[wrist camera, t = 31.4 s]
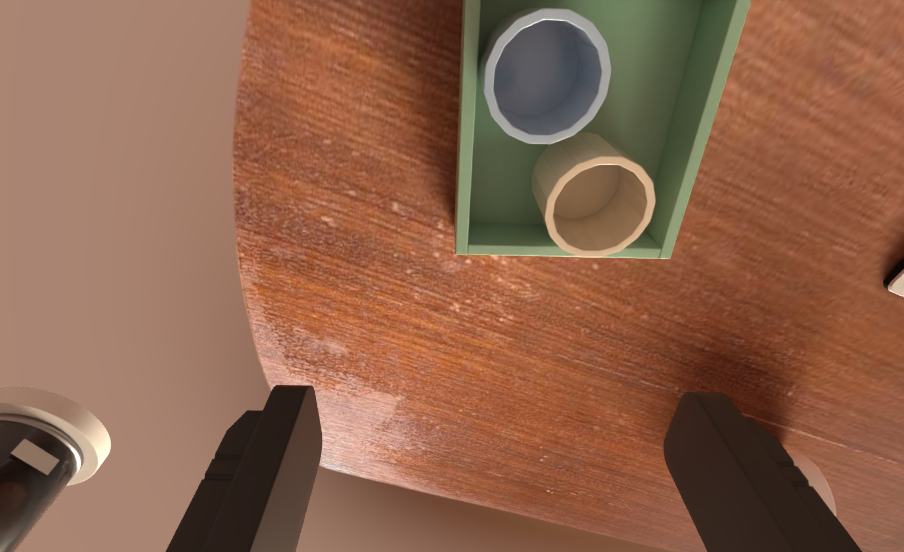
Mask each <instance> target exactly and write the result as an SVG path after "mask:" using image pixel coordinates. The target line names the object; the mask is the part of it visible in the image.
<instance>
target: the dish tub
mask: <svg viewBox="0 0 904 552" xmlns="http://www.w3.org/2000/svg"><path fill="white" fill-rule="evenodd" d="M750 3H751V0H463V4H462V31H461V58H460V86H459V113H458V140H457V168H456V195H455V223H454V233H455V254H464V255H466V254H469V255H516V256H563V257H578V256H576V255H573V254H571V253H569V252H566V251H564V250H562V249H561V248H560V247H559V246H558V245H557V244H556V243H555V242H554V241H553V239H552V238H551V237H550V236H549V234H548V231H547V229H546V227H545V225H544V222H543V220H542V218H541V215H540V213H539V211H538V209H537V206H536V204H535V200H534V198H533V195H532V191H531V175H532V171H533V168H534V165H535V163H536V161H537V159H538V158H539V156H540V155H541V153H542V152H543V151H544V150H545V149H546V148H547V147H548V146H549V145H550V144H528V143H525V142H523V141H521V140H519V139H516V138H514V137H512V136H510V135H508V134H507V133H505V131H504V130H503V129H502V128H501V127H500V126H499V125H498V123H497V122H496V121H495V120H494V119H493V118H492V116H491V114H490V112H489V109H488V106H487V104H486V101H485V99H484V96H483V93H482V90H481V87H480V84H479V80H478V60H479V55H480V51H481V48H482V45H483V43H484V41H485V39H486V37H487V35H488V34H489V32H490V31H491V29H492V28H493V27H494V26H495V25H496V24H497V23H498V22H499V21H500V20H501V19H502V18H504V17H505V16H506V15H508V14H510V13H512V12H514V11H516V10H519V9H522V8H525V7H528V6H530V7H553V8H566V9H571V10H573V11H574V12H576V13H578V14H580V15H582V16H583V17H585V18H587V19H589V20H591V21H592V22H593V23H594V25H595V26H596V28H597V29H598V31H599V32H600V34H601V35H602V36H603V38H604V39H605V41H606V43H607V47H608V52H609V58H610V63H611V75H610V80H609V85H608V91H607V95H606V98H605V99H604V101H603V103H602V104H601V106H600V108H599V110H598V111H597V113H596V115H595V116H594V118H593V119H592V120H591V121H590V122H589V123H588V124H586V125H585V126H584V127H583V128H582V129H581V130H579V131H578V132H592V133H596V134H599V135H602V136H604V137H605V138H607V139H609V140H610V141H612V142H614V143H615V144H616V145H617V146H618V147H620V148H621V149H622V150H623V151H624V152H626V153H627V154H628V155H629V156H630V157H631V158H633V159H634V160H635V161H636V162H637V163H638V164H640V165H641V166H642V167H643V169H644V170H645V171H646V173H647V174H648V176H649V177H650V178H651V180H652V182H653V186H654V192H655V199H656V202H655V206H654V209H653V213H652V217H651V220H650V222H649V224H648V225H647V226H646V228H645V229H644V230H643V232H642V233H641V235H640V236H639V237H638V238H637V239H636V240H635V241H633V242H632V243H630V244H629V245H628V246H626V247H625V248H623V249H622V250H621V251H618V252H615V253H612V254H609V255H606V256H603V257H610V258H660V259H670V257H671V254H672V251H673V248H674V244H675V241H676V238H677V235H678V232H679V228H680V225H681V222H682V219H683V216H684V213H685V209H686V206H687V203H688V200H689V197H690V194H691V190H692V187H693V184H694V181H695V178H696V174H697V171H698V168H699V165H700V162H701V159H702V155H703V152H704V149H705V146H706V143H707V139H708V136H709V133H710V130H711V127H712V124H713V120H714V117H715V114H716V111H717V108H718V104H719V101H720V98H721V95H722V92H723V89H724V85H725V82H726V79H727V76H728V73H729V69H730V66H731V63H732V60H733V57H734V54H735V50H736V47H737V44H738V41H739V38H740V35H741V31H742V28H743V25H744V22H745V19H746V15H747V12H748V9H749V6H750Z"/></svg>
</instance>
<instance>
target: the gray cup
mask: <svg viewBox="0 0 904 552" xmlns="http://www.w3.org/2000/svg"><path fill="white" fill-rule="evenodd" d="M610 75H611V63H610V58H609V52H608V47H607V43H606V41H605V39H604V38H603V36H602V35H601V34H600V32H599V31H598V29H597V28H596V26H595V25H594V23H593V22H592V21H591V20H589V19H587V18H585V17H583V16H582V15H580V14H578V13H576V12H574V11H573V10H571V9H566V8H553V7H530V6H528V7H525V8H522V9H519V10H516V11H514V12H512V13H510V14H508V15H506V16H505V17H504V18H502V19H501V20H500V21H499V22H498V23H497V24H496V25H495V26H494V27H493V28H492V29H491V31H490V32H489V34H488V35H487V37H486V39H485V41H484V43H483V45H482V48H481V51H480V55H479V60H478V80H479V84H480V87H481V90H482V93H483V96H484V99H485V101H486V104H487V106H488V109H489V112H490V114H491V116H492V118H493V119H494V120H495V121H496V122H497V123H498V125H499V126H500V127H501V128H502V129H503V130H504V131H505V133H507V134H508V135H510V136H512V137H514V138H516V139H519V140H521V141H523V142H525V143H528V144H552V143H555V142H558V141H560V140H563V139H566V138H568V137H571V136H573V135H575V134H576V133H577V132H578V131H579V130H581V129H582V128H583V127H584V126H585V125H586V124H588V123H589V122H590V121H591V120H592V119H593V118H594V116H595V115H596V113H597V111H598V110H599V108H600V106H601V104H602V103H603V101H604V99H605V98H606V95H607V91H608V85H609V80H610Z"/></svg>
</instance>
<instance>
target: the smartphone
mask: <svg viewBox="0 0 904 552" xmlns="http://www.w3.org/2000/svg"><path fill="white" fill-rule="evenodd" d="M883 286H884V287H885V288H886V289H887V290H889V291H890V292H893V293H895V294H898V295H900V296H903V297H904V260H903V261H902V262H901V263H900V264H899V265H898V266H897V267H896V268H895V269H894V270H893V271H892V272H891V273H890V274H889V275H888V276H887V277H886V278H885V280H884V281H883Z"/></svg>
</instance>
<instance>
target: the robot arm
mask: <svg viewBox="0 0 904 552" xmlns="http://www.w3.org/2000/svg"><path fill="white" fill-rule="evenodd" d="M321 451H322V431H321V425H320V419H319V413H318V408H317V402H316V396H315V391H314V388H313V386H301V385H276V386H275V387H274V388H273V389H272V391H271V393H270V396H269V398H268V400H267V403H266V405H265V407H264V409H263V411H249V410H248V411H246V412H245V413H244V414H243V415H242V417H240V418H239V419H238V420H237V421H236V422H235V423H234V425H232V426H231V427H230V428H229V429H228V430H227V432H226V434H225V436H224V438H223V439H222V442H221V443H220V445H219V448H218V450H217V451H216V454H215V458H214V459H212V461H211V463H210V465H209V467H208V469H207V471H206V473H205V478H204V480H202V481H201V483H200V485H199V487H198V489H197V491H196V493H195V495H194V497H193V499H192V501H191V503H190V505H189V507H188V509H187V511H186V513H185V515H184V517H183V519H182V520H181V522H180V525H179V526H178V528H177V530H176V532H175V534H174V536H173V538H172V540H171V542H170V544H169V546H168V548H167V550H166V552H295V551H296V547H297V544H298V540H299V536H300V533H301V529H302V525H303V522H304V518H305V514H306V511H307V507H308V503H309V500H310V496H311V492H312V489H313V485H314V481H315V477H316V474H317V470H318V466H319V463H320V458H321ZM664 456H665V461H666V464H667V467H668V469H669V471H670V473H671V476H672V478H673V480H674V482H675V484H676V486H677V488H678V490H679V492H680V495H681V497H682V499H683V501H684V503H685V505H686V507H687V509H688V511H689V514H690V516H691V518H692V520H693V522H694V524H695V526H696V528H697V530H698V532H699V535H700V537H701V539H702V541H703V543H704V545H705V547H706V549H707V551H708V552H862V551H861V550H860V548H859V547H858V546H857V544H856V543H855V542H854V540H853V539H852V538H851V536H850V535H849V534H848V532H847V531H846V530H845V528H844V527H843V526H842V524H841V523H840V522H839V520H838V519H837V518H836V516H835V515H834V514H833V513H832V511H831V510H830V509H829V507H828V506H827V505H826V503H825V502H824V501H823V499H822V498H821V497H820V495H819V494H818V493H817V491H816V490H815V489H814V487H813V486H810V485H809V481H808V479H807V478H806V477H805V475H804V474H803V473H802V471H801V470H800V469H799V467H798V466H795V465H794V461H793V459H792V458H791V457H790V455H789V454H788V453H787V451H786V450H785V449H784V448H783V446H782V445H781V444H780V442H779V441H778V440H777V438H776V437H774V436H773V435H772V434H771V433H770V432H768V431H767V430H766V429H765V428H763V427H762V426H761V425H760V424H759V423H757V422H756V421H755V420H754V419H752V418H744V416H743V415H742V414H741V412H740V411H739V409H738V408H737V407H736V405H735V404H734V402H733V401H732V400H731V398H730V397H729V396H728V395H726V394H725V393H722V392H686V393H684V394H683V395H682V397H681V399H680V401H679V404H678V406H677V409H676V411H675V414H674V416H673V419H672V421H671V424H670V426H669V429H668V431H667V434H666V436H665V440H664ZM83 463H84V456H83V453H82V450H81V448H80V447H79V445H78V444H77V443H76V442H75V441H74V440H73V439H72V438H71V437H70V436H69V435H68V434H66V433H65V432H64V431H62V430H61V429H59V428H57V427H56V426H54V425H52V424H50V423H47V422H45V421H42V420H40V419H37V418H34V417H30V416H26V415H20V414H12V413H1V414H0V552H15V551H16V549H17V548H18V547H19V546H20V544H21V543H22V542H23V540H24V539H25V538H26V537H27V535H28V534H29V533H30V531H31V530H32V529H33V527H34V526H35V525H36V523H37V522H38V521H39V520H40V519H41V517H42V516H43V514H44V513H45V512H46V511H47V510H48V508H49V507H50V506H51V505H52V503H53V502H54V500H55V499H56V498H57V497H58V495H59V494H60V493H61V492H62V490H63V489H64V488H65V486H66V485H67V484H68V483H69V481H70V480H71V479H72V478H74V477H75V476H76V474H77V473H78V472H79V470H80V469H81V468H82V466H83Z"/></svg>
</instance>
